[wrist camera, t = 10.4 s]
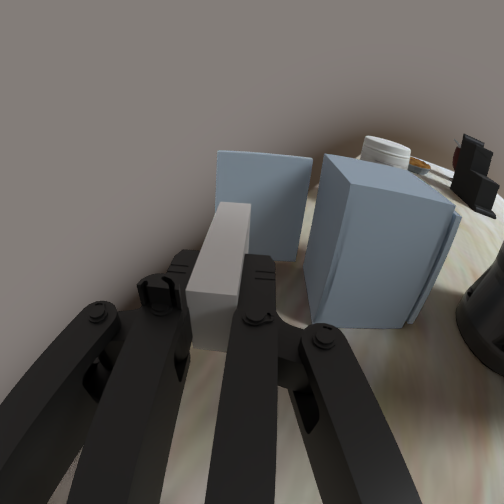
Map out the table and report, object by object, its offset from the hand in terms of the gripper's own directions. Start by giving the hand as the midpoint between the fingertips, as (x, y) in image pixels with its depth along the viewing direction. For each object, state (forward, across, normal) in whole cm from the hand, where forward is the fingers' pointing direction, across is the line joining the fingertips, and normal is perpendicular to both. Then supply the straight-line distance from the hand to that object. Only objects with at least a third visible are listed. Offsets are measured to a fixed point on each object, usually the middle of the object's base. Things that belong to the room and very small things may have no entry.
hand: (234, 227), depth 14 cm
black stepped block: (+66, +77, -16) cm, 103 cm away
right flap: (+16, +1, -12) cm, 20 cm away
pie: (+102, +65, -16) cm, 122 cm away
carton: (+11, +12, -13) cm, 21 cm away
